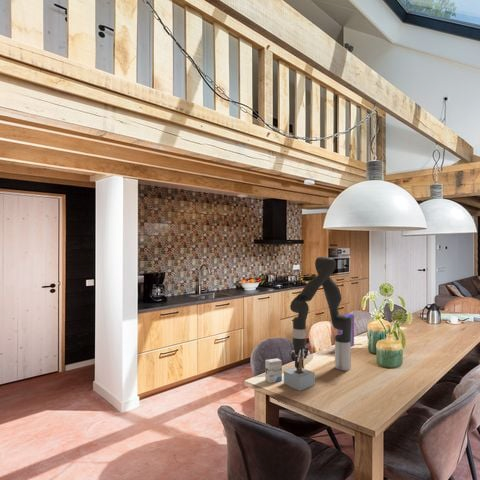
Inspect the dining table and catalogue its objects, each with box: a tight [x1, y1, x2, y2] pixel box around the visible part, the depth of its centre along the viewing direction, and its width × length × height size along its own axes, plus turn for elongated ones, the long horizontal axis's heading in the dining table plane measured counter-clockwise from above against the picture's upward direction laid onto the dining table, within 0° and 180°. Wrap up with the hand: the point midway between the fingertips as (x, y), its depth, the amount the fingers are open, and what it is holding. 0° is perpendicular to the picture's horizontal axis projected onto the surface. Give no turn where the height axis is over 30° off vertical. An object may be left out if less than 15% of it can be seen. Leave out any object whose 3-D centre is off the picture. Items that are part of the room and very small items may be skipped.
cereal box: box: [336, 313, 355, 348], centre depth 267 cm, size 17×5×24 cm, turn 136°
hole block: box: [283, 367, 316, 392], centre depth 196 cm, size 12×12×7 cm
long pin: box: [296, 355, 302, 374], centre depth 196 cm, size 3×3×14 cm
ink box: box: [264, 357, 283, 384], centre depth 202 cm, size 8×5×12 cm, turn 111°
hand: (299, 367), depth 196 cm, fingers closed on long pin, 2 cm apart
